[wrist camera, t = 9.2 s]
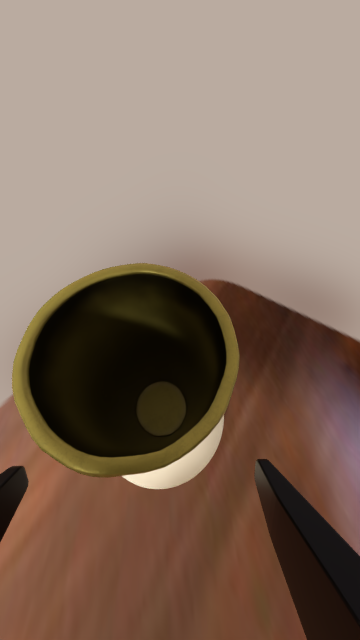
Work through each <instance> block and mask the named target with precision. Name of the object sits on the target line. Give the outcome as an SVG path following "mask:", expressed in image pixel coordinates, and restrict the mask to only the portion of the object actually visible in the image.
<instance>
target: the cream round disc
mask: <svg viewBox="0 0 360 640" xmlns="http://www.w3.org/2000/svg"><path fill="white" fill-rule="evenodd" d="M223 423H224V415H223V417H222V418H221V420H220V422H219V423H218V424H217V426H216V427H215V428H214V429H213V430H212V432H211V433H210V434H209V435H208V436H207V437H206V438H205V439H204V440H203V441H202V442H201V443H200V444H199V445H198V446H197V447H196V448H195V449H193V450H192V451H191V452H189V453H188V454H186V455H185V456H184V457H182V458H181V459H179V460H177V461H175V462H174V463H172V464H170V465H168V466H166V467H165V468H161V469H157V470H154V471H150V472H147V473H141V474H133V475H125V476H123V477H124V478H125V479H127V480H128V481H130V482H132V483H134V484H136V485H138V486H141V487H145V488H150V489H167V488H171V487H175V486H178V485H180V484H183V483H185V482H187V481H189V480H190V479H192V478H193V477H195V476H196V475H197V474H198V473H199V472H200V471H202V470H203V468H204V467H205V466H206V465H207V464H208V463H209V461H210V460H211V458H212V457H213V455H214V453H215V451H216V449H217V447H218V445H219V442H220V439H221V435H222V430H223Z"/></svg>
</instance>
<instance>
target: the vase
mask: <svg viewBox="0 0 360 640" xmlns="http://www.w3.org/2000/svg"><path fill="white" fill-rule="evenodd" d="M238 370H239V349H238V343H237V339H236V335H235V331H234V327H233V325H232V322H231V319H230V316H229V315H228V313H227V311H226V310H225V308H224V307H223V305H222V304H221V302H220V301H219V299H218V298H217V297H216V296H215V295H214V294H213V293H212V292H211V291H210V290H209V289H208V288H207V287H206V286H204V285H203V284H202V283H200V282H199V281H198V280H196V279H194V278H193V277H191V276H189V275H187V274H185V273H183V272H180V271H178V270H175V269H172V268H170V267H165V266H160V265H155V264H147V263H137V264H127V265H121V266H115V267H110V268H107V269H103V270H100V271H97V272H94V273H92V274H90V275H87V276H85V277H83V278H81V279H79V280H77V281H75V282H73V283H71V284H70V285H68V286H67V287H65V288H63V289H62V290H60V291H59V292H58V293H57V294H55V295H54V296H53V297H52V298H51V299H50V300H49V301H48V302H46V304H44V305H43V307H42V308H41V309H40V310H39V311H38V312H37V314H36V315H35V317H34V318H33V320H32V321H31V323H30V325H29V326H28V328H27V330H26V332H25V334H24V336H23V339H22V341H21V343H20V345H19V348H18V350H17V353H16V356H15V359H14V364H13V373H12V389H13V395H14V401H15V403H16V406H17V408H18V410H19V413H20V415H21V417H22V420H23V422H24V424H25V426H26V428H27V430H28V432H29V434H30V435H31V437H32V439H33V440H34V441H35V443H36V444H37V445H38V446H39V447H40V448H41V450H42V451H44V452H45V453H47V454H48V455H50V456H51V457H52V458H54V459H55V460H57V461H58V462H60V463H61V464H63V465H64V466H66V467H67V468H69V469H72V470H74V471H76V472H78V473H80V474H83V475H88V476H92V477H107V478H108V477H117V476H125V475H133V474H141V473H147V472H150V471H154V470H157V469H161V468H165V467H166V466H168V465H170V464H172V463H174V462H175V461H177V460H179V459H181V458H182V457H184V456H185V455H186V454H188V453H189V452H191V451H192V450H193V449H195V448H196V447H197V446H198V445H199V444H200V443H201V442H202V441H203V440H204V439H205V438H206V437H207V436H208V435H209V434H210V433H211V432H212V430H213V429H214V428H215V427H216V426H217V424H218V423H219V422H220V420H221V418H222V417H223V415H224V413H225V412H226V409H227V407H228V404H229V401H230V398H231V395H232V392H233V389H234V386H235V382H236V379H237V374H238Z"/></svg>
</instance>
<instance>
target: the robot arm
mask: <svg viewBox="0 0 360 640" xmlns="http://www.w3.org/2000/svg"><path fill="white" fill-rule="evenodd" d="M255 482H256V486H257V490H258V493H259V497H260V501H261V504H262V508H263V512H264V515H265V519H266V523H267V526H268V530H269V533H270V537H271V540H272V543H273V546H274V549H275V551H276V554H277V557H278V560H279V562H280V565H281V568H282V571H283V574H284V576H285V579H286V582H287V585H288V588H289V590H290V593H291V596H292V599H293V602H294V604H295V607H296V610H297V613H298V616H299V618H300V621H301V624H302V627H303V629H304V632H305V635H306V638H307V640H360V556H359V555H358V554H357V553H356V552H355V551H354V550H353V549H352V548H351V547H350V545H349V544H348V543H347V542H346V541H345V540H344V539H343V538H342V537H341V536H340V535H339V534H338V533H337V532H336V531H335V530H334V529H333V528H332V527H331V525H330V524H329V523H328V522H327V521H326V520H325V519H324V518H323V517H322V516H321V515H320V514H319V513H318V512H317V511H316V510H315V509H314V508H313V507H312V506H311V504H310V503H309V502H308V501H307V500H306V499H305V498H304V497H303V496H302V495H301V494H300V493H299V492H298V491H297V490H296V489H295V488H294V487H293V486H292V484H291V483H290V482H289V481H288V480H287V479H286V478H285V477H284V476H283V475H282V474H281V473H280V472H279V471H278V470H277V469H276V468H275V467H274V466H273V465H272V463H271V462H270V461H269V460H267V459H257V460H256V465H255ZM27 487H28V478H27V474H26V471H25V468H24V467H23V466H12V467H10V468H8V469H7V470H5V471H4V472H3V473H1V474H0V542H1V540H2V538H3V536H4V534H5V532H6V530H7V528H8V526H9V524H10V522H11V520H12V518H13V516H14V514H15V512H16V510H17V508H18V506H19V504H20V502H21V500H22V498H23V496H24V494H25V492H26V489H27Z"/></svg>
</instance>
